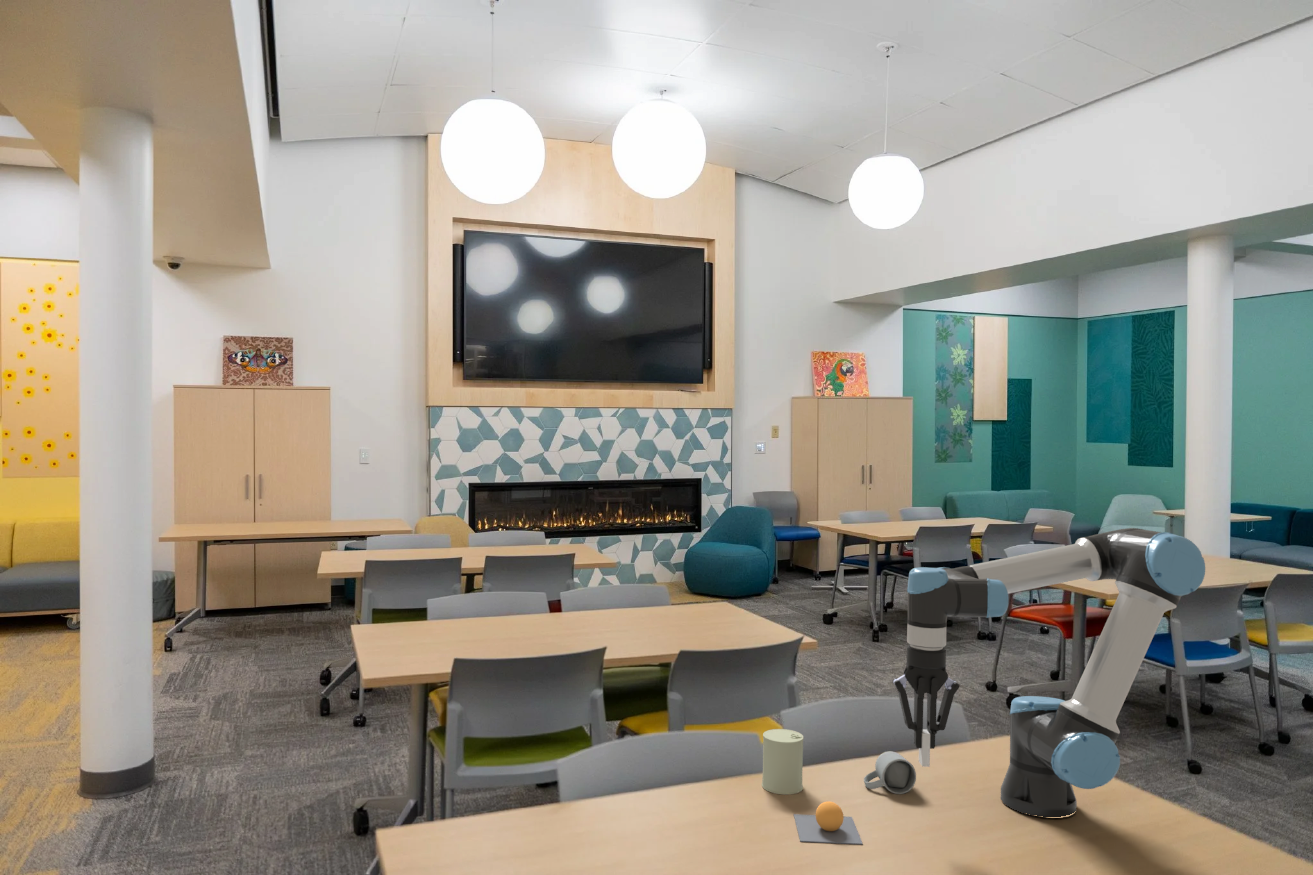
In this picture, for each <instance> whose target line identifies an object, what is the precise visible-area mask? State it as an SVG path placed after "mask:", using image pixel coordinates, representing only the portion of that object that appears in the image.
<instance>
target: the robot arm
mask: <svg viewBox="0 0 1313 875" xmlns="http://www.w3.org/2000/svg"><path fill="white" fill-rule="evenodd" d="M1205 562H1206V561H1205V559H1204V557H1203V555H1202V551H1201V550H1200V548H1199V547H1198V546H1197V545H1196V544H1195V543H1194V542H1193V541H1192V540H1191V539H1188V538H1187V537H1185V536H1181V535H1177V534H1175V533H1172V532H1169V531H1167V532H1166V531H1163V532H1161V531H1154V530H1148V529H1143V528H1138V527H1137V528H1135V527H1128V528H1127V527H1126V528H1120V529H1115V530H1110V531H1107V532H1106V531H1104V532H1102V533H1101V532H1100V533H1098V534H1097V533H1096V534H1093V535H1087V536H1084V537H1080V538H1077V540H1075V543H1073V544H1068V545H1063V546H1058V547H1053V548H1049V549H1044V550H1040V551H1034V552H1029V553H1024V554H1020V555H1014V556H1009V557H1004V558H1000V559H995V560H990V561H985V562H980V563H974V564H970V565H967V566H965V565H964V566H959V567H955V568H950V567H945V566H943V567H926V566H925V567H924V566H921V567H920V566H919V567H914V568H912V569H910V570H909V573H908V578H907V579H908V580H907V589H906V592H907V626H906V627H907V630H906V631H907V632H906V633H907V634H906V642H907V643H908V644H907V646H906V661H905V662H906V666H905V669H904V671H903V675H901V676H899V677H898V678H897V677H894V678H892V683H893V685H894V687H895V688H896V691H897V694H898V699H899V704H900V706H901V712H902V716H903V721H904V724H905V725H906V727H907V728H908V730H913V731H914V732H913V734H914V735H913V744H914V746H915V748H916V749H918V763H919V764H920V765H921V767H925V768H926V767H929V768H930V767H931V765H930V764H931V762H930V761H931V749H932V750H933V749H934V750H935V747H936V735H937V734H938V732H939V731H945V729H946V726H947V722H948V719H949V715H950V712H951V707H952V704H953V699H954V698H955V697H954V696H955V694H956V693H957V692H958V690H959V689H960V684H959V683H958V682H957V681H956V680H954V679H951V678H950V677H949V675H948V674H949V673H948V672H947V668H946V666H947V662H946V661H947V649H945V647H946V646H947V624H948V623H947V621H948V617H952V618H955V617H961V618H964V617H967V618H969V617H970V618H986V619H989V618H997V617H998V618H999V617H1003V615H1005V614H1006V612H1007V610H1008V607H1009V594H1013V593H1018V592H1023V591H1029V590H1032V589H1033V590H1035V589H1038V588H1041V587H1047V586H1053V585H1057V584H1063V583H1067V582H1072V581H1077V580H1081V579H1086V580H1087V581H1090V582H1097V581H1102V580H1115V582H1114V584H1115V587H1116V588H1117V590H1118V595H1117V597H1116V600H1115V602H1114V604H1113V606H1112V608H1111V610H1110V613H1109V616H1108V617H1107V619H1106V622H1105V623H1104V626H1103V629H1102V631H1101V633H1100V636H1099V637H1098V640H1097V642H1096V643H1095V645H1094V648H1093V650H1092V653H1091V655H1090V658H1089V660H1088V662H1087V663H1086V666H1085V668H1084V670H1083V673H1082V674H1081V677H1080V679H1079V681H1078V684H1077V685H1076V688H1075V690H1074V692H1073V695H1072V696H1071V698H1070V699H1068V700H1064V699H1061V698H1055V697H1049V696H1038V695H1027V696H1026V695H1025V696H1022V695H1021V696H1016V697H1015V698H1013V699H1012V700H1011V703H1010V704H1011V705H1010V712H1009V716H1010V717H1009V718H1010V719H1009V720H1010V721H1009V723H1010V725H1009V766H1008V768H1007V770H1006V773H1005V775H1004V776H1005V777H1004V778H1003V781H1002V783H1001V786H1000V801H1001V800H1002V801H1003V802H1002V801H1001V802H1002V803H1003V804H1004V805H1005V804H1006V805H1007V807H1008V806H1009V807H1010V808H1009V807H1008V808H1009V809H1011V808H1012V809H1011V810H1013V809H1014V811H1015V810H1017V811H1016V812H1018V811H1019V812H1018V813H1020V812H1022V813H1021V814H1023V813H1027V814H1030V815H1037V816H1043V817H1061V816H1066V815H1070V814H1072V813H1074V812H1075V811H1076V812H1077V809H1076V808H1078V806H1077V804H1078V803H1077V797H1076V794H1075V791H1074V788H1073V786H1074V787H1076V788H1079V789H1083V790H1085V789H1086V790H1093V789H1096V788H1098V787H1103V786H1105V785H1107V784H1108V783H1110V782H1111V781H1112V780H1113V779H1114V777H1115V776H1116V775H1117V773H1118V771H1119V769H1120V766H1121V755H1120V754H1119V749H1118V747H1117V745H1116V742H1117V740H1118V738H1119V736H1120V734H1121V731H1120V729H1119V727H1118V725H1117V718H1118V717H1119V714H1120V711H1121V710H1122V707H1123V705H1124V702H1125V701H1126V700H1127V699H1126V698H1127V696H1128V694H1129V692H1130V690H1131V687H1132V685H1133V684H1134V681H1135V678H1136V677H1137V674H1138V673H1139V670H1140V668H1141V666H1142V663H1143V661H1144V658H1145V656H1146V654H1147V652H1148V649H1149V647H1150V645H1151V643H1152V640H1153V638H1154V637H1155V634H1156V632H1157V629H1158V628H1159V625H1160V622H1161V621H1162V619H1163V616H1164V613H1166V612H1168V611H1171V610H1174V609H1176V608H1177V606H1178V604H1179V602H1180V600H1181V597H1183V596H1185V595H1186V596H1187V595H1189V594H1191V593H1192V592H1195V591H1196V590H1197V589H1199V587H1201V585H1202V584H1203V582H1204V579H1205V576H1206V563H1205ZM907 682H908V684H909V685H910V687H911V688H912V690H913V695H914V696H913V697H914V698H913V700H914V701H913V703H914V704H913V705H914V706H913V716H912V713H911V708H910V704H909V703H910V702H909V698H908V694H907V691H906V687H907ZM943 686H944V687H945V689H944V690H943V694H942V699H941V703H940V705H939V710H938V714H937V699H938V692H939V691H940V690H941V688H942V687H943ZM925 694H926V729H924V699H925ZM1006 805H1005V806H1006ZM1027 814H1026V815H1027ZM1030 815H1029V816H1030Z"/></svg>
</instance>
